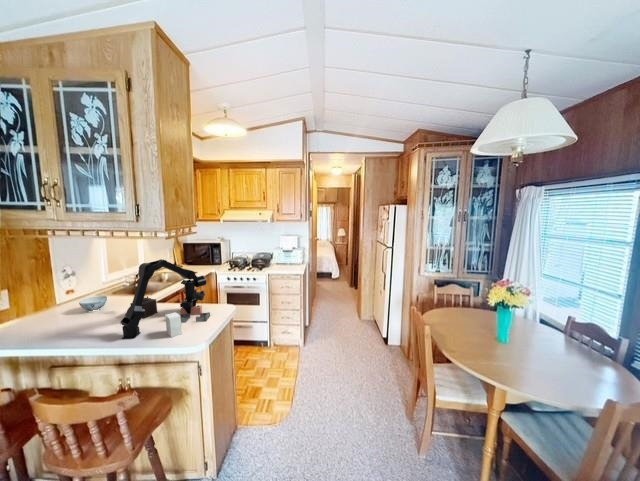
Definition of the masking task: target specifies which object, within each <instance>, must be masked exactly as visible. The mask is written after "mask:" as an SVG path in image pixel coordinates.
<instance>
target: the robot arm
mask: <svg viewBox="0 0 640 481" xmlns="http://www.w3.org/2000/svg"><path fill="white" fill-rule="evenodd" d="M163 268H164V269H166V270H169V271H171V272H173V273H176V274H178V275H179V276H180V277H181V278H183V280H182V281H180V284H181V285H184V291H183V294H184V295H185V297H184V300H182V301H181V302H180V303H179V305H180V306H179V307H180V308H182V307H183V308H184V309H185V311H186V312H187V314H190V315H191V307H192V306H197V302H198V301H200V302H201V301H203V300H204V298H205V296H206V293H205V291H204V290H201V291H198V290H197V289H196V288H200V287H204V286H207V280H206V278H205V275H200V276H197V275H196V272H195V271H194V270H190V269H186V268H183V267H180V266H178V265H176V264H174V263H172V262H170V261H168V260H167V259H158V260H155V261H151V262H143V263H141V264H140V265H139V266H138V282H137V285H136V286H137V288H136V290H135V292H134V295H133V299H132V302H131V303H132V305H130V306H129V307H128V308H127V310H126V312H125V315H124V316H123V318H122V319H121V321H120V322H119V323H120V324H121V326H122V334H123V336H122V337H121V340H129V339H135V338H136V337H138V336H139V335H140V334H141V331H140V330H141V329H140V322H141V320H142V317H143V314H144V312H145V309H142V303H143V299H144V298H145V295H146V292H147V288H148V285H149V282H150V280H151V279H152V277H153V276H154V275H155V274H154V273H155V271H158V270H159V271H160V269H163ZM191 316H192V315H191Z"/></svg>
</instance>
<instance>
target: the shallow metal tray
mask: <svg viewBox="0 0 640 481" xmlns="http://www.w3.org/2000/svg"><path fill="white" fill-rule="evenodd" d="M179 315H180V317H181V324H185V323H187V322H188V321H189V320H190V319H191V317H192V315H190V314H181V313H180V314H179ZM210 318H211V312H202V313H200V315H199V316H197V317H195V322H196V323H201V322H208V321H209V320H208V319H210Z"/></svg>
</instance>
